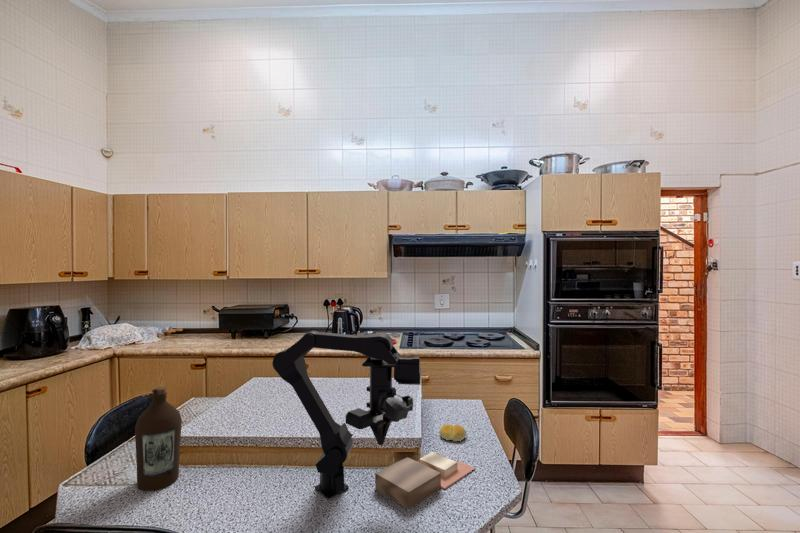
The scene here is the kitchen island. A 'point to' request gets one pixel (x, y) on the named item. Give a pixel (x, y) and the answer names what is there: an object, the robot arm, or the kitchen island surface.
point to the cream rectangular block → (439, 463)
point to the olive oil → (158, 443)
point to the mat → (456, 475)
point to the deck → (408, 482)
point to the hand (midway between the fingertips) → (380, 444)
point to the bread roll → (453, 432)
